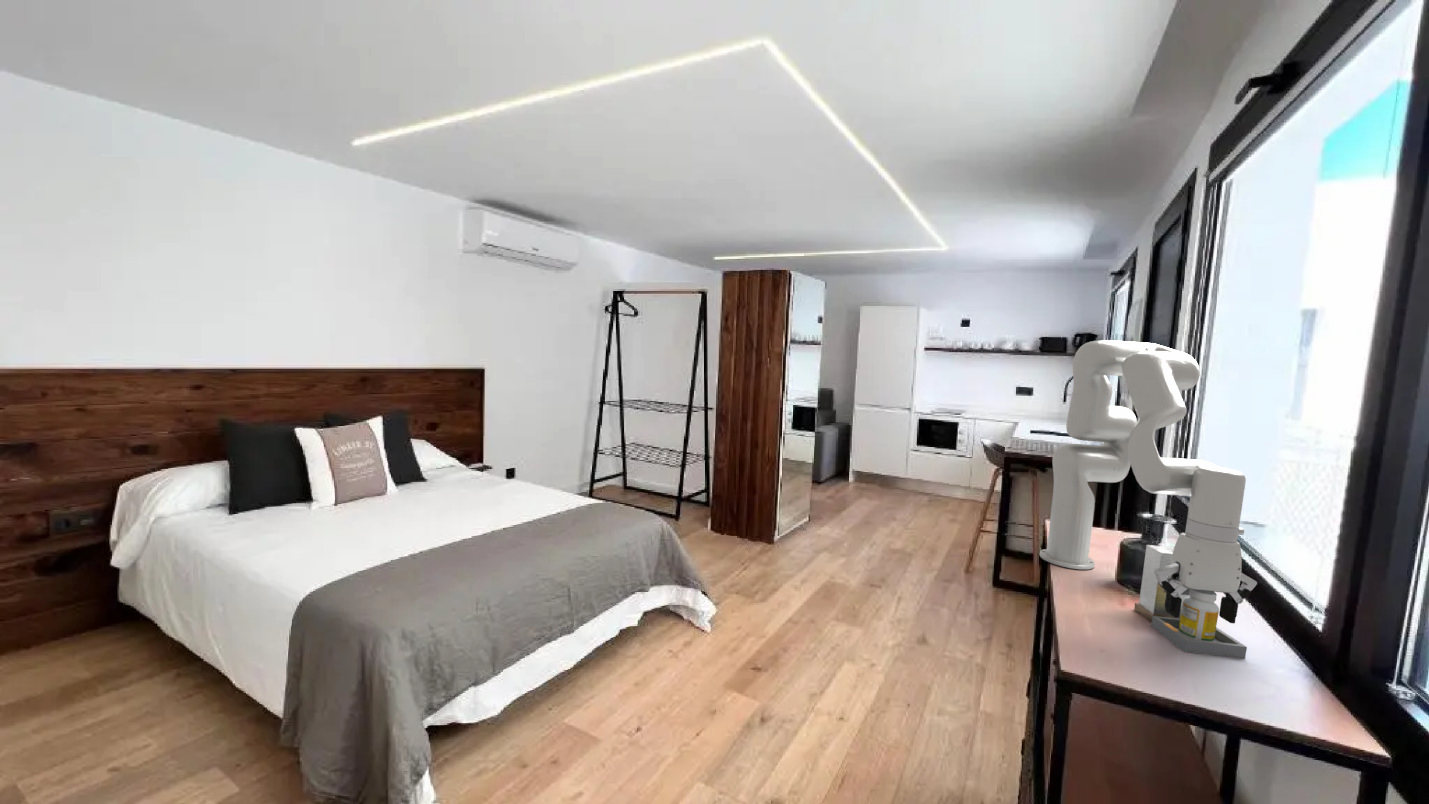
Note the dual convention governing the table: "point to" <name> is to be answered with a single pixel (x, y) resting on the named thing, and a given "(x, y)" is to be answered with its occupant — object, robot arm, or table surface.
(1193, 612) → the supplement bottle
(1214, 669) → the table surface
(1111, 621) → the table surface
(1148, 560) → the box
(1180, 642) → the tray
